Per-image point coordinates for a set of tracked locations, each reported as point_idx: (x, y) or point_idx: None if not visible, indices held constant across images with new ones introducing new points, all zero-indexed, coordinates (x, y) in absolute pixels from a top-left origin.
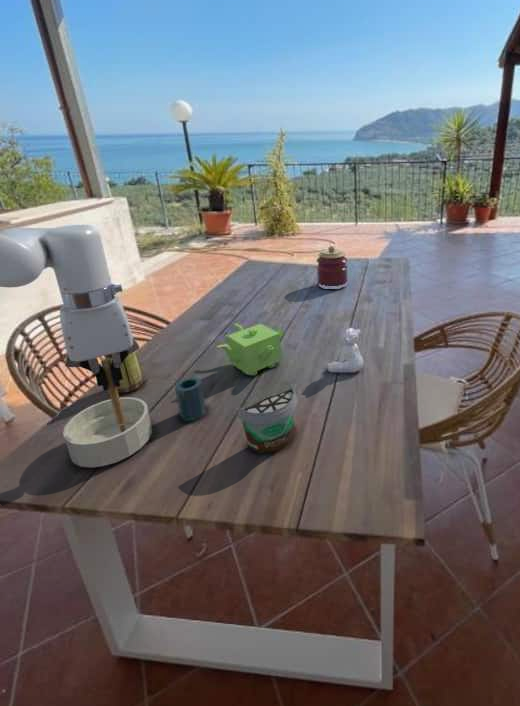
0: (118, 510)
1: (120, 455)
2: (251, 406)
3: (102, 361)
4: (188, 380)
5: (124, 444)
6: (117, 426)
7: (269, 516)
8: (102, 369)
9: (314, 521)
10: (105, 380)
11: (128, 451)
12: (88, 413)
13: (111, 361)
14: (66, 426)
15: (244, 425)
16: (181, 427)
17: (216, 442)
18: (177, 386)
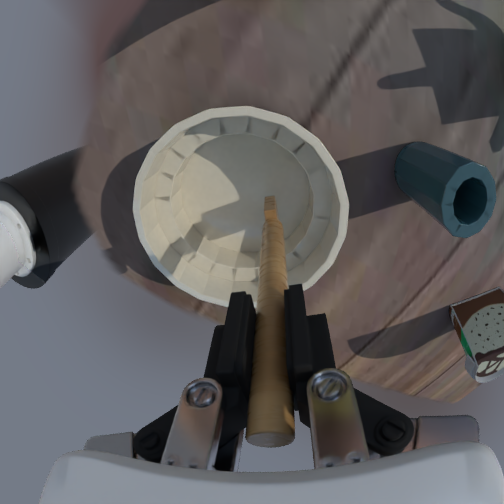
0: None
1: None
2: (489, 356)
3: (255, 442)
4: (476, 178)
5: None
6: (247, 139)
7: (405, 386)
8: (248, 398)
9: (426, 393)
10: None
11: None
12: (171, 143)
13: (299, 401)
14: (136, 214)
15: (464, 342)
16: (388, 206)
17: (423, 279)
18: (448, 200)
